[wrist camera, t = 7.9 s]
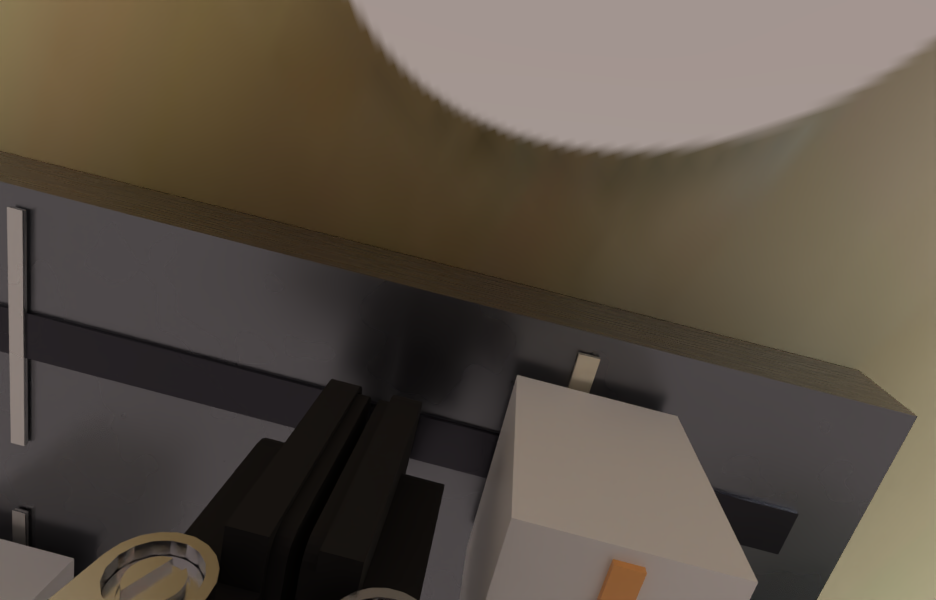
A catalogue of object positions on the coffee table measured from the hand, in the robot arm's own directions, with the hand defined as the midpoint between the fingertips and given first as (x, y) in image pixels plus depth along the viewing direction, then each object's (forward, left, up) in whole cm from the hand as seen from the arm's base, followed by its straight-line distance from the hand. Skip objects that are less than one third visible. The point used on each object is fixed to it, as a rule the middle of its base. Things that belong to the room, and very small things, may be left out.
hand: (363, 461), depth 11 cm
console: (+4, -1, -3) cm, 5 cm away
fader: (0, +4, -1) cm, 4 cm away
